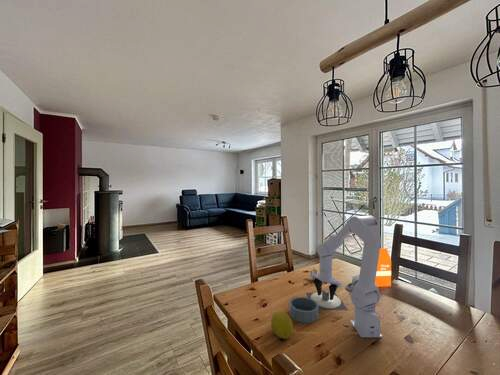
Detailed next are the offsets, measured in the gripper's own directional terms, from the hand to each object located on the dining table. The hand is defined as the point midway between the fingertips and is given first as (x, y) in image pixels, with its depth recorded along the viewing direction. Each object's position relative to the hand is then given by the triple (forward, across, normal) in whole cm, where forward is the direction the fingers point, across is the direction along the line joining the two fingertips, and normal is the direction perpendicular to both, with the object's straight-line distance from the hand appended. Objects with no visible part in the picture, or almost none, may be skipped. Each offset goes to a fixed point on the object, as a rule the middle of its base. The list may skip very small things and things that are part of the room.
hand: (325, 296), depth 106 cm
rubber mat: (+2, 0, 0) cm, 2 cm away
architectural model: (+3, +16, -17) cm, 23 cm away
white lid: (+2, 0, 0) cm, 2 cm away
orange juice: (+3, -12, -40) cm, 42 cm away
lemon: (+3, +1, +33) cm, 33 cm away
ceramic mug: (+3, -7, -22) cm, 24 cm away
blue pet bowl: (+2, +1, +17) cm, 17 cm away
